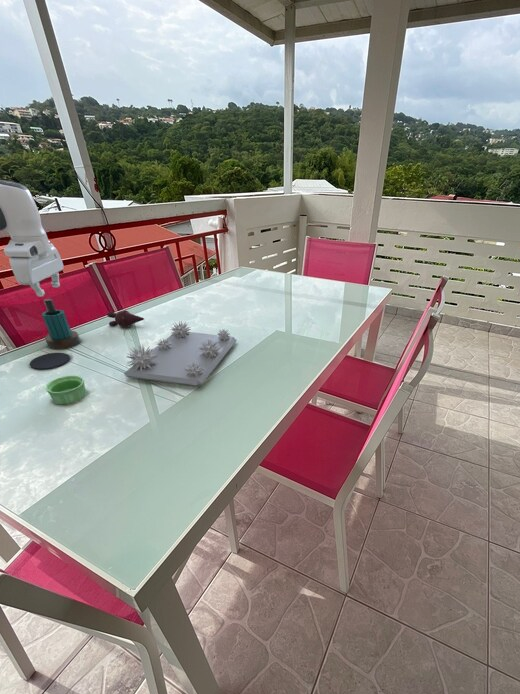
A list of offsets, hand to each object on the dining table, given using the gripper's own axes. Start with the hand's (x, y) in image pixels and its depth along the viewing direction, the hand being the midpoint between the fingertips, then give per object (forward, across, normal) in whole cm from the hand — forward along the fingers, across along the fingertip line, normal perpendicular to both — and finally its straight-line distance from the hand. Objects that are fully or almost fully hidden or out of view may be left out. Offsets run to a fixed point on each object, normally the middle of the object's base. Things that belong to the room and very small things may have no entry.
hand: (49, 291), depth 107 cm
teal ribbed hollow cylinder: (+17, -2, -3) cm, 17 cm away
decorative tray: (+19, +10, +42) cm, 48 cm away
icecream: (+20, -18, +14) cm, 30 cm away
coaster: (+20, +12, -1) cm, 23 cm away
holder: (+20, -2, -3) cm, 20 cm away
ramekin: (+20, +33, +15) cm, 41 cm away
